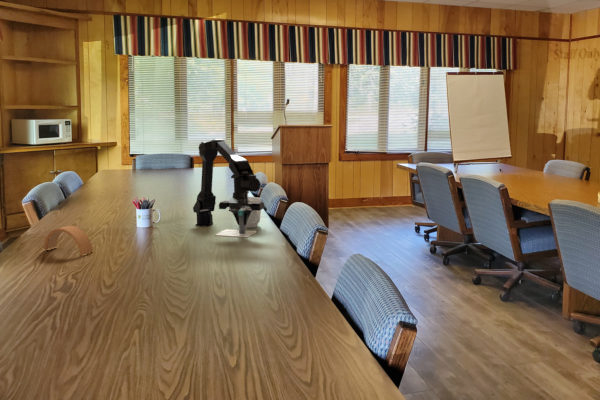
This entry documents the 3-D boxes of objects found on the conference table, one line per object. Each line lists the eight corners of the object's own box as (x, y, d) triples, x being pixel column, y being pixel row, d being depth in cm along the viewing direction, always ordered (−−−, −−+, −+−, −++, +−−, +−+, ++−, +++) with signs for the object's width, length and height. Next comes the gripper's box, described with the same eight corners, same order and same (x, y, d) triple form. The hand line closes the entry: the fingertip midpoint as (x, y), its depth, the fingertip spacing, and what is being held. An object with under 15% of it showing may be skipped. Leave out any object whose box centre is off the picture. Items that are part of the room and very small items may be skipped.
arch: (56, 248, 219) (53, 223, 217) (93, 253, 211) (91, 227, 209) (43, 251, 214) (41, 226, 212) (81, 257, 205) (79, 231, 204)
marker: (238, 233, 234) (237, 210, 232) (240, 232, 236) (239, 209, 234) (244, 234, 233) (243, 211, 231) (246, 232, 235) (245, 209, 234)
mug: (269, 228, 248) (269, 200, 245) (248, 231, 242) (247, 202, 239) (254, 222, 260) (253, 195, 258) (233, 225, 254) (232, 198, 252)
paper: (215, 235, 235) (215, 234, 235) (225, 229, 246) (225, 229, 246) (247, 237, 231) (247, 236, 231) (256, 231, 242) (256, 230, 242)
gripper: (212, 191, 226) (214, 228, 229) (254, 192, 221) (255, 230, 224) (223, 187, 237) (224, 222, 239) (263, 188, 232) (264, 224, 234)
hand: (242, 225), depth 234 cm, fingers closed on marker, 3 cm apart
